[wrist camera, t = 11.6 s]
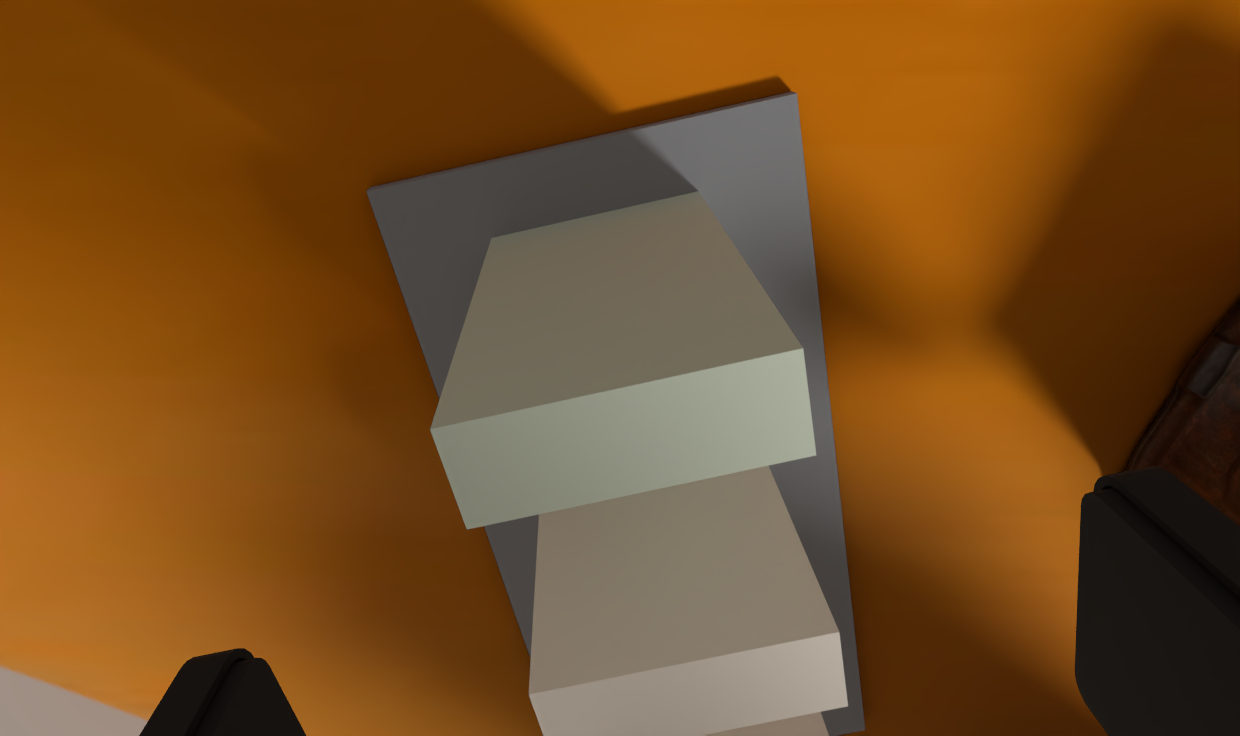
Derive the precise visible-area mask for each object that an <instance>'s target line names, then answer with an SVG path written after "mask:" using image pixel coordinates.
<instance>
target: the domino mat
mask: <svg viewBox="0 0 1240 736" xmlns="http://www.w3.org/2000/svg"><path fill="white" fill-rule="evenodd" d="M697 191H699V193H700V194H701V196H702V197H703V199H704V200H705V202H706V203H707V205H708V206H709V208H710V209H711V211H712V212H713V214H714V215H715V217H716V218H717V220H718V221H719V223H720V224H721V226H722V227H723V229H724V230H725V232H726V233H727V235H728V236H729V238H730V239H731V241H732V242H733V244H734V245H735V247H736V248H737V250H738V251H739V253H740V254H741V256H742V257H743V259H744V260H745V262H746V263H747V265H748V266H749V268H750V269H751V271H752V272H753V274H754V275H755V277H756V278H757V280H758V281H759V283H760V284H761V286H762V287H763V289H764V290H765V292H766V293H767V295H768V296H769V298H770V299H771V301H772V302H773V304H774V305H775V307H776V308H777V310H778V311H779V313H780V314H781V316H782V317H783V319H784V320H785V322H786V323H787V325H788V326H789V328H790V329H791V331H792V332H793V334H794V335H795V337H796V338H797V340H798V341H799V343H800V344H801V346H802V347H803V351H804V359H805V367H806V375H807V383H808V391H809V399H810V407H811V416H812V424H813V432H814V440H815V448H816V456H811V457H806V458H802V459H797V460H792V461H787V462H783V463H778V464H773V465H769V468H770V470H771V473H772V475H773V477H774V480H775V482H776V484H777V487H778V489H779V491H780V494H781V496H782V499H783V501H784V503H785V506H786V508H787V510H788V513H789V515H790V517H791V520H792V522H793V524H794V527H795V529H796V531H797V534H798V536H799V538H800V541H801V543H802V545H803V548H804V550H805V553H806V555H807V557H808V560H809V562H810V564H811V567H812V569H813V571H814V574H815V576H816V578H817V581H818V583H819V585H820V588H821V590H822V592H823V595H824V597H825V599H826V602H827V604H828V607H829V609H830V611H831V614H832V616H833V618H834V621H835V623H836V625H837V628H838V630H839V633H840V642H841V650H842V659H843V667H844V675H845V684H846V692H847V701H848V706H847V707H842V708H837V709H832V710H827V711H822V712H821V715H822V717H823V720H824V723H825V726H826V729H827V732H828V734H829V736H838V735H843V734H849V733H854V732H859V731H864V730H865V722H864V713H863V703H862V694H861V685H860V676H859V666H858V657H857V648H856V638H855V629H854V620H853V611H852V601H851V592H850V583H849V573H848V564H847V555H846V545H845V536H844V527H843V518H842V508H841V499H840V490H839V480H838V471H837V462H836V453H835V443H834V434H833V425H832V415H831V406H830V397H829V388H828V378H827V369H826V360H825V350H824V341H823V332H822V323H821V313H820V304H819V295H818V285H817V276H816V267H815V258H814V248H813V239H812V230H811V220H810V211H809V202H808V193H807V183H806V174H805V165H804V155H803V146H802V137H801V128H800V118H799V109H798V100H797V93H795V92H792V91H791V92H787V93H783V94H778V95H774V96H769V97H765V98H761V99H756V100H752V101H747V102H743V103H739V104H734V105H730V106H725V107H721V108H717V109H712V110H708V111H703V112H699V113H695V114H690V115H686V116H681V117H677V118H673V119H668V120H664V121H659V122H655V123H651V124H646V125H642V126H637V127H633V128H629V129H624V130H620V131H615V132H611V133H607V134H602V135H598V136H594V137H589V138H585V139H580V140H576V141H572V142H567V143H563V144H558V145H554V146H550V147H545V148H541V149H536V150H532V151H528V152H523V153H519V154H514V155H510V156H506V157H501V158H497V159H492V160H488V161H484V162H479V163H475V164H470V165H466V166H462V167H457V168H453V169H448V170H444V171H440V172H435V173H431V174H426V175H422V176H418V177H413V178H409V179H404V180H400V181H396V182H391V183H387V184H382V185H378V186H374V187H370V188H369V189H368V190H367V191H366V192H367V195H368V198H369V201H370V203H371V206H372V209H373V212H374V215H375V218H376V220H377V223H378V226H379V229H380V232H381V235H382V237H383V240H384V243H385V246H386V249H387V252H388V255H389V257H390V260H391V263H392V266H393V269H394V272H395V274H396V277H397V280H398V283H399V286H400V289H401V292H402V294H403V297H404V300H405V303H406V306H407V309H408V311H409V314H410V317H411V320H412V323H413V326H414V329H415V331H416V334H417V337H418V340H419V343H420V346H421V348H422V351H423V354H424V357H425V360H426V363H427V365H428V368H429V371H430V374H431V377H432V380H433V383H434V385H435V388H436V391H437V394H438V397H439V400H440V397H441V394H442V390H443V387H444V384H445V381H446V378H447V375H448V372H449V369H450V366H451V362H452V359H453V356H454V353H455V350H456V347H457V344H458V341H459V337H460V334H461V331H462V328H463V325H464V322H465V319H466V316H467V313H468V309H469V306H470V303H471V300H472V297H473V294H474V291H475V288H476V285H477V281H478V278H479V275H480V272H481V269H482V266H483V263H484V260H485V257H486V253H487V250H488V247H489V244H490V241H491V238H494V237H498V236H503V235H507V234H511V233H516V232H520V231H525V230H529V229H534V228H538V227H542V226H547V225H551V224H556V223H560V222H565V221H569V220H573V219H578V218H582V217H587V216H591V215H595V214H600V213H604V212H609V211H613V210H618V209H622V208H626V207H631V206H635V205H640V204H644V203H648V202H653V201H657V200H662V199H666V198H671V197H675V196H679V195H684V194H688V193H693V192H697ZM538 523H539V514H538V515H533V516H529V517H524V518H519V519H515V520H510V521H505V522H500V523H496V524H491V525H486V526H484V528H485V530H486V533H487V536H488V539H489V542H490V545H491V548H492V550H493V553H494V556H495V559H496V562H497V565H498V567H499V570H500V573H501V576H502V579H503V582H504V585H505V587H506V590H507V593H508V596H509V599H510V602H511V604H512V607H513V610H514V613H515V616H516V619H517V622H518V624H519V627H520V630H521V633H522V636H523V639H524V641H525V644H526V647H527V650H528V653H529V656H530V658H531V644H532V627H533V609H534V592H535V575H536V557H537V540H538Z"/></svg>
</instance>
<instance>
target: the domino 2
mask: <svg viewBox="0 0 1240 736" xmlns="http://www.w3.org/2000/svg"><path fill="white" fill-rule="evenodd" d="M529 697H530V700H531V703H532V706H533V708H534V711H535V714H536V717H537V719H538V722H539V725H540V728H541V730H542V733H543V736H701V735H706V734H711V733H716V732H721V731H726V730H731V729H736V728H741V727H746V726H751V725H756V724H761V723H766V722H772V721H777V720H782V719H787V718H792V717H797V716H802V715H807V714H812V713H817V712H822V711H827V710H832V709H837V708H842V707H847V706H848V701H847V692H846V684H845V675H844V667H843V659H842V650H841V642H840V633H839V630H838V628H837V625H836V623H835V621H834V618H833V616H832V614H831V611H830V609H829V607H828V604H827V602H826V599H825V597H824V595H823V592H822V590H821V588H820V585H819V583H818V581H817V578H816V576H815V574H814V571H813V569H812V567H811V564H810V562H809V560H808V557H807V555H806V553H805V550H804V548H803V545H802V543H801V541H800V538H799V536H798V534H797V531H796V529H795V527H794V524H793V522H792V520H791V517H790V515H789V513H788V510H787V508H786V506H785V503H784V501H783V499H782V496H781V494H780V491H779V489H778V487H777V484H776V482H775V480H774V477H773V475H772V473H771V470H770V468H769V466H764V467H759V468H755V469H750V470H745V471H740V472H736V473H731V474H726V475H722V476H717V477H712V478H707V479H703V480H698V481H693V482H689V483H684V484H679V485H675V486H670V487H665V488H660V489H656V490H651V491H646V492H642V493H637V494H632V495H627V496H623V497H618V498H613V499H609V500H604V501H599V502H595V503H590V504H585V505H580V506H576V507H571V508H566V509H562V510H557V511H552V512H548V513H543V514H539V523H538V540H537V557H536V575H535V592H534V609H533V627H532V644H531V661H530V678H529Z"/></svg>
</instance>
